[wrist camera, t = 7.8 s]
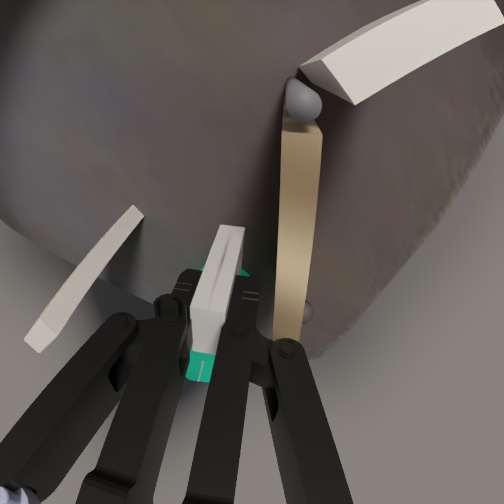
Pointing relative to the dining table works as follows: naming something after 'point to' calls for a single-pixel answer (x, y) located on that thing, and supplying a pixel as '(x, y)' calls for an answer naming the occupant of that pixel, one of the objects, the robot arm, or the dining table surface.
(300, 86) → the door frame
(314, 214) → the door
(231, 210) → the dining table surface
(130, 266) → the dining table surface
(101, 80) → the dining table surface
